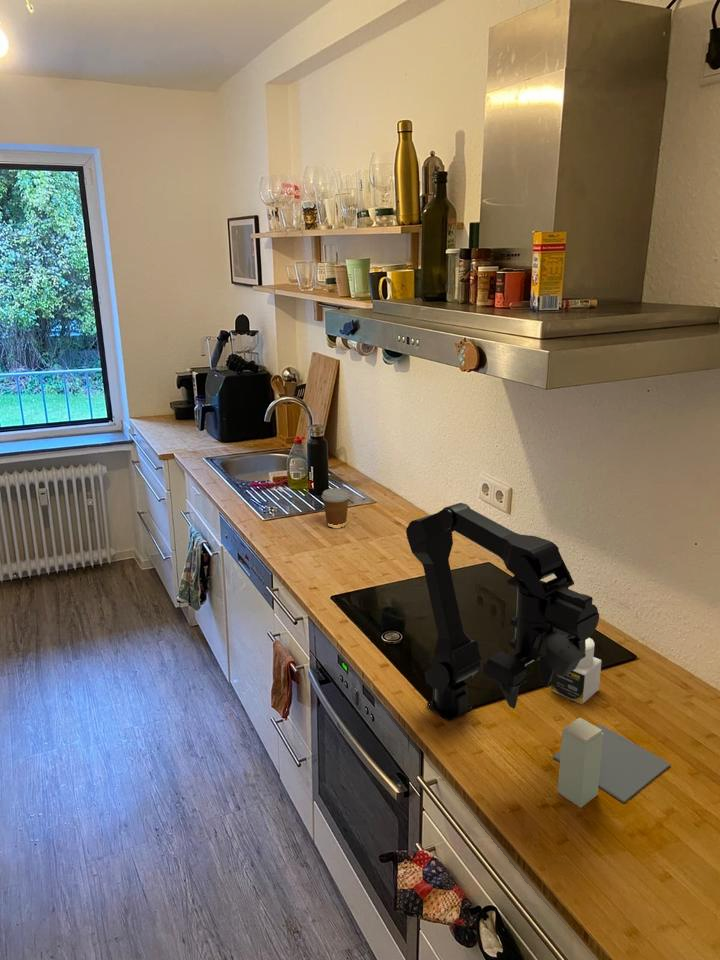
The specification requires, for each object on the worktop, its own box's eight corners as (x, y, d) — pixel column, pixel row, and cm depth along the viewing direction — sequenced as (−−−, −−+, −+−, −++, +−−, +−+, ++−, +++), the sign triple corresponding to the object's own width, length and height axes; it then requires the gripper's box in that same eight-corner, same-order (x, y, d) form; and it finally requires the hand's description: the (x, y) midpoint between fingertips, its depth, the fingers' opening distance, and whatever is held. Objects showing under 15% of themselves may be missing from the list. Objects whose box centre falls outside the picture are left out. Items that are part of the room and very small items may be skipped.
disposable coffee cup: (316, 527, 234) (315, 493, 231) (334, 518, 242) (333, 486, 238) (338, 532, 229) (337, 498, 225) (356, 524, 236) (355, 490, 233)
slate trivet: (553, 757, 123) (553, 755, 123) (599, 726, 131) (600, 724, 131) (624, 803, 112) (624, 801, 112) (670, 765, 120) (670, 763, 120)
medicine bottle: (550, 690, 142) (553, 638, 138) (567, 676, 147) (571, 626, 143) (582, 705, 137) (586, 652, 133) (599, 690, 142) (604, 638, 138)
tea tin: (557, 791, 115) (562, 727, 111) (574, 780, 117) (579, 716, 114) (580, 807, 111) (586, 741, 108) (597, 795, 114) (603, 730, 110)
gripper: (540, 654, 103) (534, 743, 108) (608, 614, 114) (600, 695, 119) (482, 627, 111) (479, 710, 116) (551, 591, 123) (546, 669, 127)
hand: (528, 696), depth 119 cm, fingers open, 9 cm apart
